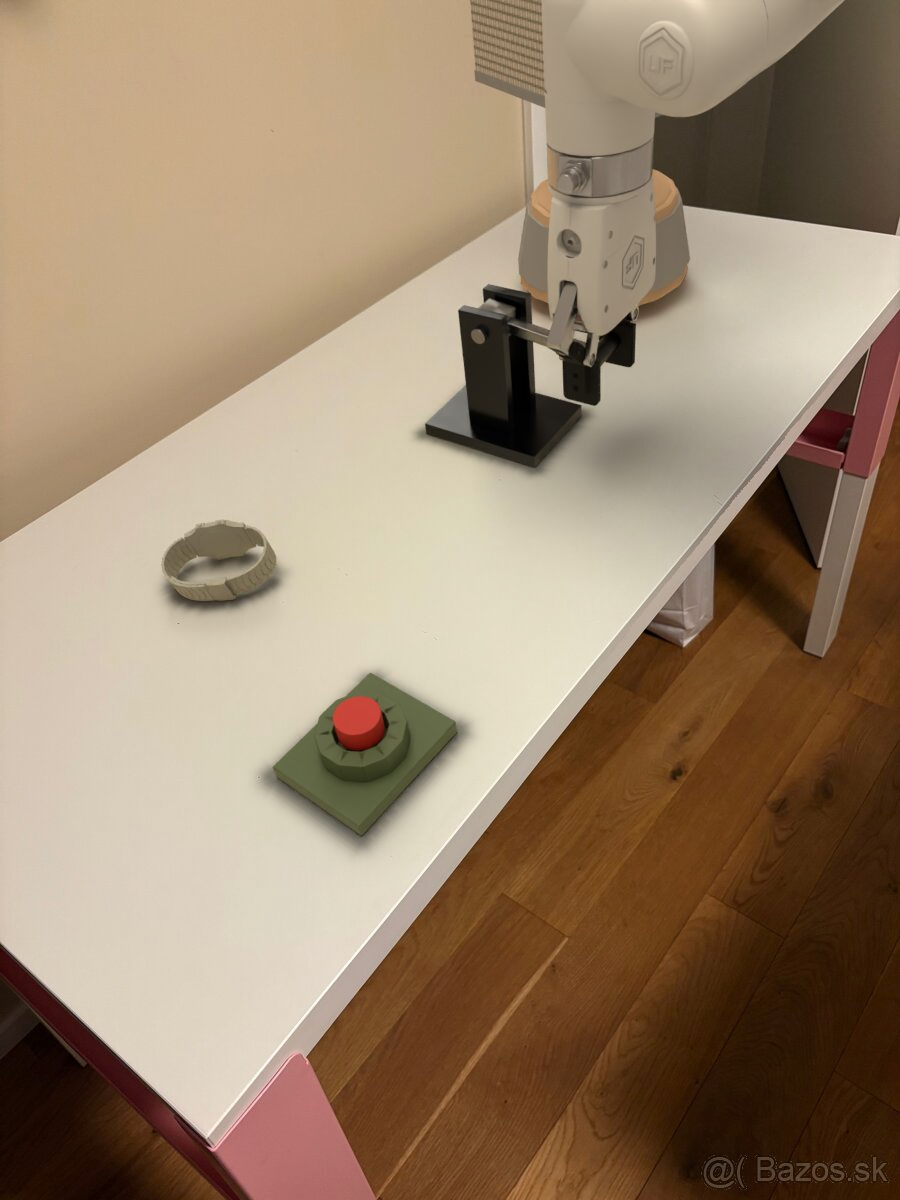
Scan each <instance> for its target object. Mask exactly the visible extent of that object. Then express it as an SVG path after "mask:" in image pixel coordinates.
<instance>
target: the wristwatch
mask: <svg viewBox="0 0 900 1200" xmlns="http://www.w3.org/2000/svg"><path fill="white" fill-rule="evenodd" d="M256 547H263V550H262V554H261V555H260V557H259V559H257V561H256V562H255V563H254V564H253V565H252V566H251V567H249V568H248V569H246V570H244V571H243V572H241V573H238V574H236V575H234V576H229V577H227V576H226V577H218V578H211V579H206V580H205V581H195V582H193V581H184V580H180V579H178V574H179V573H180V571H181V569H182V568H183V567H184V566H185V565H186V564H188V563H189V562H190V561H192V560H194V559H196V558H197V557H198V558H211V559H216V560H218V561H219V560H226V559H228V558H233V557H242V556H245V555H246V553H247V552H248V551H249V550H252V549H253V548H256ZM277 561H278V560H277V555H276V553H275V550H274V549H273V547H272V545H271V543H270V542H269V541H268V539H267V537H266V535H265V534H264V533H263V532H262V531H261V530H260V529H258V528H257V527H255V526H252V525H248V524H245V523H244V522H238V521H233V520H229V519H217V520H214V521H210V522H202V523H197V524H195V527H193V528H192V529H191V530H189V531H187V532H185V533H184V534H183V537H178V538H177V539H176V540H174V541H173V542H172V543H171V544H170V545H169V546H168V547H167V549H166V550H165V551H164V554H163V555H162V558H161V564H160V565H161V566H160V567H161V571H162V574H163V576H164V577H165V578H166V579H167V581H168V582H169V583H170V584H171V585H172V587H173V588H174V589H175V590H176V591H177V593H178V594H179V595H181V596H182V597H184V598H186V599H189V600H192V601H196V602H213V601H219V602H220V601H233V600H235V599H236V598H237V597H238V595H239V594H244V593H245V592H249V591H251V590H254V589H256V588H257V587H259V586H260V585H262V584H263V583H264V582H266V581H267V580H268V579H269V577H271V575H272V574H273V572H274V570H275V569H276V566H277Z"/></svg>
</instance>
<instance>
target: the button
mask: <svg viewBox="0 0 900 1200" xmlns="http://www.w3.org/2000/svg"><path fill="white" fill-rule="evenodd" d="M333 723H334V727H335V730H336V733H337V736H338V739H339V742H340V743H341V744H342V745H343V746H344V747H346V748H348V749H350V750H355V751H360V750H366V749H369V748H371V747H373V746H375V745H376V744H377V743H378V742H379V741H380V740H381V739H382V737H383V735H384V732H385V725H384V721H383V717H382V713H381V709H380V707H379V705H378V704H377V702H375V701H374V700H373V699H371V698H368V697H363V696H358V697H352V698H349V699H347V700H345V701H343V702H342V703H341V704H340V705H339V706H338V707H337V708H336V710H335V711H334V714H333Z"/></svg>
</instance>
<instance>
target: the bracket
mask: <svg viewBox="0 0 900 1200" xmlns="http://www.w3.org/2000/svg"><path fill="white" fill-rule="evenodd" d="M482 297H483V303H484V302H486V301H487V300H488V299H489V298H490V299H493V300H496V301H499V302H502V303H505V304H508V305H511V306H514V307H516V319H519V320H522V321H525V322H528V323H531V324H533V308H532V306H533V305H532V295H531V293H529V292H528V291H524V290H523V291H522V290H518V289H513V288H509V287H505V286H504V287H503V286H499V285H495V284H490V283H488V284H487V285H485V286H484V287H483V288H482ZM457 314H458V315H457V316H458V322H459V323H458V324H459V333H460V342H461V351H462V362H463V371H464V380H465V385H464V386H463V387H462V388H461V389H460V390H459V391H458V392H457V393H456V394H454V396H453V397H452V398H450V399H449V400H448V401H447V402H446V403H445V404H444V405H443V406H442V407H441V408H440V409H439V410H438V411H436V413H435V414H434V415H433V416H431V417H430V418H429V419H428V420H427V421H426V422H425V423H424V426H425V427H424V428H425V433H426V435H429V436H432V437H435V438H439V439H442V440H445V441H448V442H450V443H454V444H457V445H461V446H464V447H467V448H470V449H473V450H477V451H481V452H483V453H487V454H490V455H493V456H496V457H500V458H503V459H507V460H508V461H509V460H510V461H512V462H516V463H519V464H523V465H526V466H529V467H531V468H536V467H537V465H538V464H540V462H541V461H542V460H543V459H544V458H545V457H546V455H548V454H549V452H550V451H551V450H552V449H553V448H554V447H555V446H556V444H557V443H558V442H559V441H560V440H561V439H562V438H563V437H564V436H565V435H566V433H567V432H568V431H569V430H570V429H571V428H572V427H573V426H574V425H575V424H576V422H577V421H578V420H579V419H580V418H581V417H582V415H583V407H582V404H579V403H576V402H572V401H568V400H564V399H561V398H556V397H553V396H549V395H546V394H542V393H538V392H536V374H535V351H534V350H535V349H534V342H532V341H529V340H526V339H523V338H520V337H517V336H514V335H512V334H511V335H510V336H509V337H508V323H507V315H505V314H501V313H496V312H492V311H488V310H483V309H479V307H474V306H469V305H465V304H464V305H462V306H461V307H460V308H459V309H458V310H457Z"/></svg>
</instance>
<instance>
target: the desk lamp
mask: <svg viewBox="0 0 900 1200" xmlns="http://www.w3.org/2000/svg"><path fill="white" fill-rule="evenodd" d="M469 3H470V16H471V18H470V19H471V29H472V30H471V31H472V42H473V44H472V45H473V55H474V68H475V69H474V70H473V71H474V82H477V83H480V84H483V85H485V86H487V87H490V88H492V89H495V90H497V91H499V92H502V93H506V94H508V95H510V96H512V97H513V96H514V97H516V98H518V99H521V100H523V101H526V102H529V103H531V104H534V105H536V106H539V107H541V108H544V109H545V86H544V59H543V32H542V0H469ZM747 84H748V82H747V83H745V84H744V85H743V86H746V85H747ZM662 116H663V115H662V114H659V113H655V119H656V118H658V117H662ZM652 179H653V187H654V197H655V216H656V273H655V281H654V284H653V286H652V288H651V289H650V291H649V292H648V293H647V294H646V295H645V296H644V298H643V299H642V300H641V301H640V302H639V303H638V307H639V306H642V305H647V304H649V303H653V302H656V301H658V300H660V299H661V298H663V297H664V296H666V295H667V294H669V293H671V292H672V291H674V290H675V289H677V288H678V287H680V286H681V284H682V282H683V280H684V279H685V277H686V274H687V273H688V271H689V262H690V260H691V254H690V249H689V241H688V234H687V226H686V219H685V213H684V212H685V211H684V204H683V199H682V196H681V193H680V190H679V188H678V187H677V186H676V185H675V184H676V183H675V182H674V180H673V179H671V178H669V177H668V176H667V175H665V174H663V173H662V172H661V171H659V170H656V169H654V168H653V173H652ZM552 198H553V196H552V195H551V194H550V192H549V190H548V178H547V179H545V180H543V181H541V182H540V183H539V184H538V186H536V188H535V189H534V191H533V192H532V193H531V195H530V198H529V199H527V201H526V205H525V213H524V219H523V224H522V232H521V238H520V244H519V251H518V257H517V262H518V275H519V277H520V285H521V286H522V287H523V288H524V289H525V290H526V292H527V293H531V297H533V298H535V299H537V300H539V301H542V302H545V303H546V304H548V280H547V275H548V238H549V222H550V211H551V201H552Z"/></svg>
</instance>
